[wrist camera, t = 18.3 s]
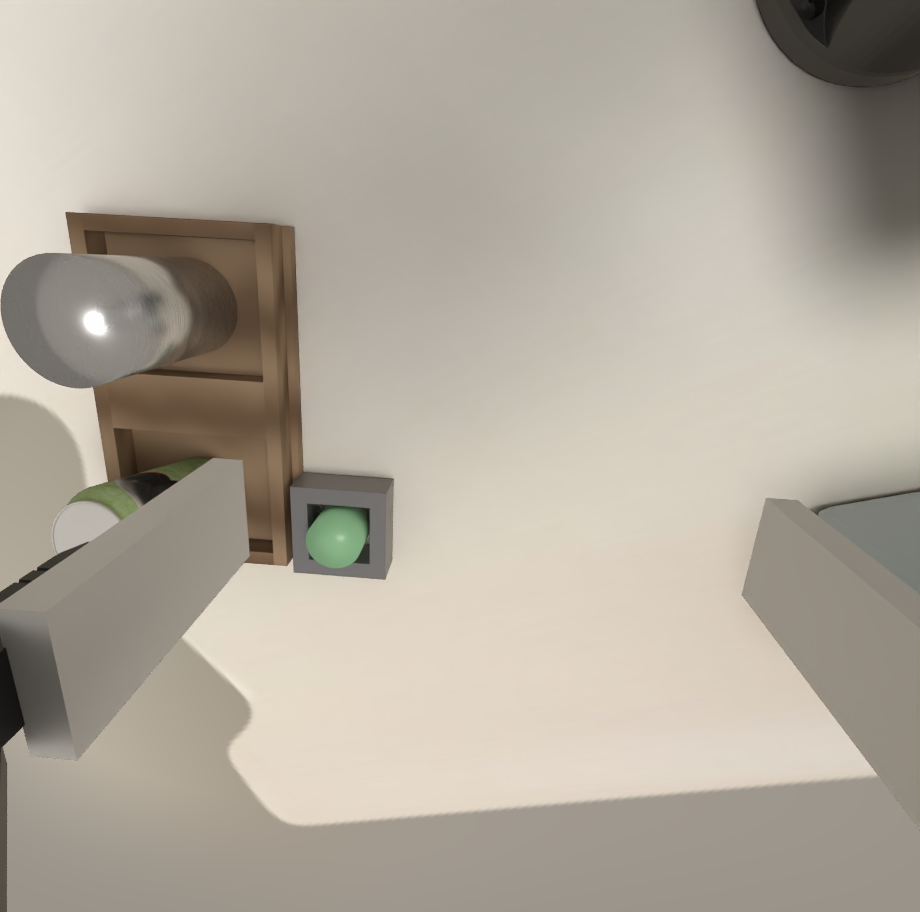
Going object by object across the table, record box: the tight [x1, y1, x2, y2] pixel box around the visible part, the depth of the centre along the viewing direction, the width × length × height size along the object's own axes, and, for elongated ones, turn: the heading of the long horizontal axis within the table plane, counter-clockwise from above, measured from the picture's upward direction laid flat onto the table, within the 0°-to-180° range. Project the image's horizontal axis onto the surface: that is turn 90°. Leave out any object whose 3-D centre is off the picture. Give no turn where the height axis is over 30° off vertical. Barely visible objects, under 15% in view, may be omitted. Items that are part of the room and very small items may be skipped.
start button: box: [306, 505, 370, 568], centre depth 42 cm, size 4×4×4 cm
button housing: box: [290, 472, 394, 580], centre depth 43 cm, size 7×7×3 cm
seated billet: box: [1, 253, 238, 388], centre depth 33 cm, size 6×6×12 cm
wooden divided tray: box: [66, 212, 303, 566], centre depth 40 cm, size 24×14×3 cm, turn 177°
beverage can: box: [51, 457, 211, 555], centre depth 37 cm, size 6×7×12 cm
